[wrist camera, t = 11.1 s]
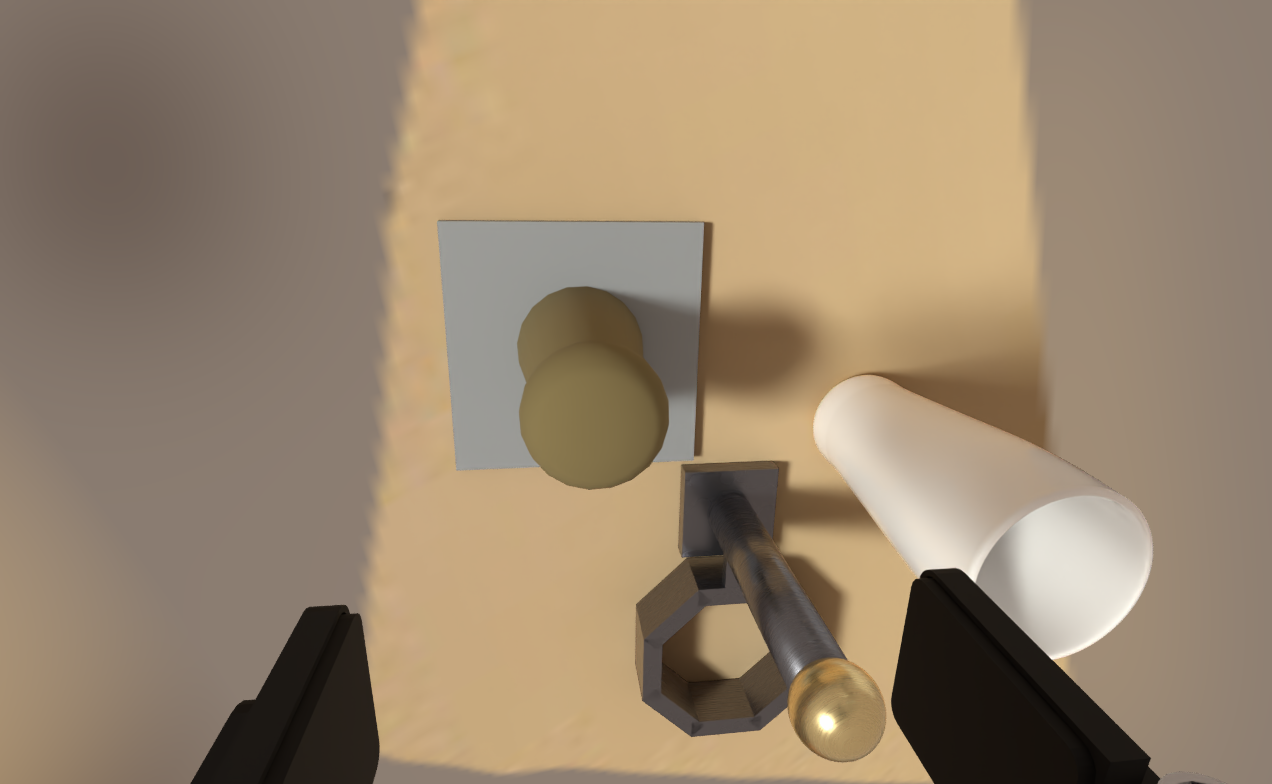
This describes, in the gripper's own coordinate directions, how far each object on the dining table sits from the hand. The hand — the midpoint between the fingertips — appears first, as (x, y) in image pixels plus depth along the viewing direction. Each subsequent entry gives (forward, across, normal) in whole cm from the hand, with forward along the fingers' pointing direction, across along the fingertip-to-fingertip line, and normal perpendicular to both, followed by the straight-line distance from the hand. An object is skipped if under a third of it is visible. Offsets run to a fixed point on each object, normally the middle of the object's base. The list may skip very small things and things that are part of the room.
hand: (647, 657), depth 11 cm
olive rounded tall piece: (+22, 0, +1) cm, 22 cm away
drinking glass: (+23, -15, +5) cm, 27 cm away
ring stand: (+22, -8, +15) cm, 28 cm away
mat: (+22, 0, +1) cm, 22 cm away
